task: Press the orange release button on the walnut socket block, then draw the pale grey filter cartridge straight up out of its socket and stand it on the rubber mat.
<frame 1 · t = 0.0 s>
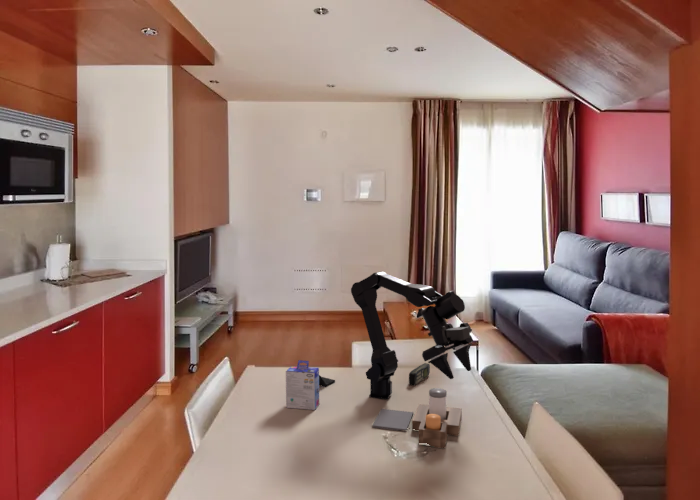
hand: (461, 374, 146), 15 cm above the table, tool tilted 35°, fingers open, 9 cm apart
mobile phone: (420, 380, 184), on the table
ink cartridge box: (303, 406, 161), on the table
filter cartridge: (437, 424, 148), resting in socket block
mat: (393, 420, 150), on the table
socket block: (437, 424, 148), on the table
release button: (433, 423, 137), point 5 cm above the table, slide at 0.0 cm
handheld gaming console: (315, 384, 181), on the table
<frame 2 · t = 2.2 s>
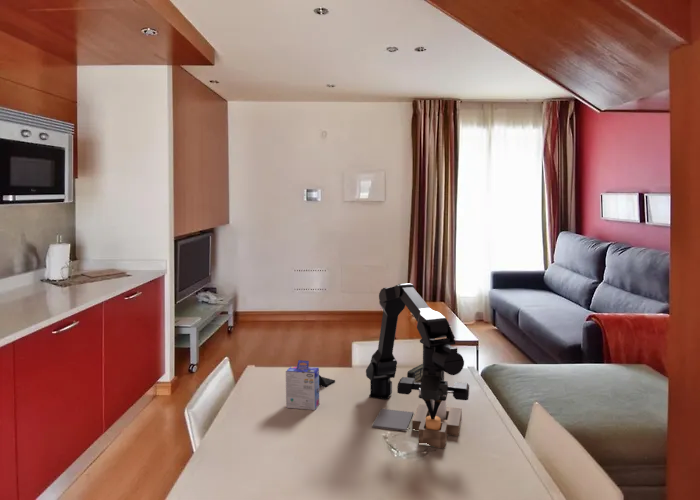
hand: (433, 418, 136), 6 cm above the table, tool pointing down, fingers closed, pressing on release button
release button: (433, 425, 137), point 4 cm above the table, slide at 0.5 cm, touching gripper
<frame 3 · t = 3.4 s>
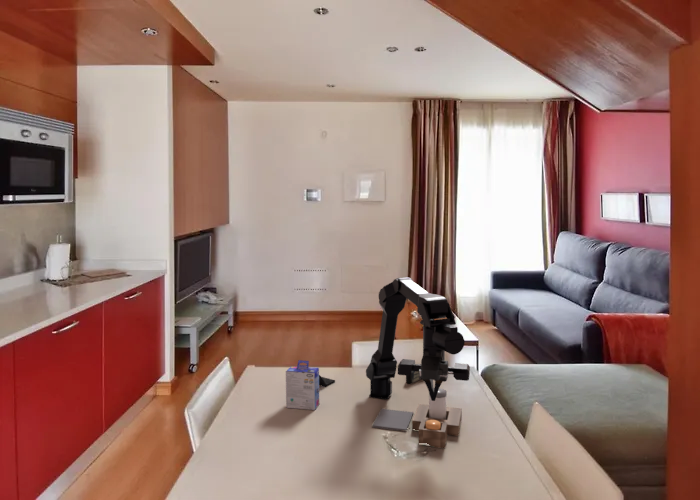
hand: (433, 400, 136), 12 cm above the table, tool pointing down, fingers closed
release button: (433, 430, 137), point 3 cm above the table, slide at 1.7 cm
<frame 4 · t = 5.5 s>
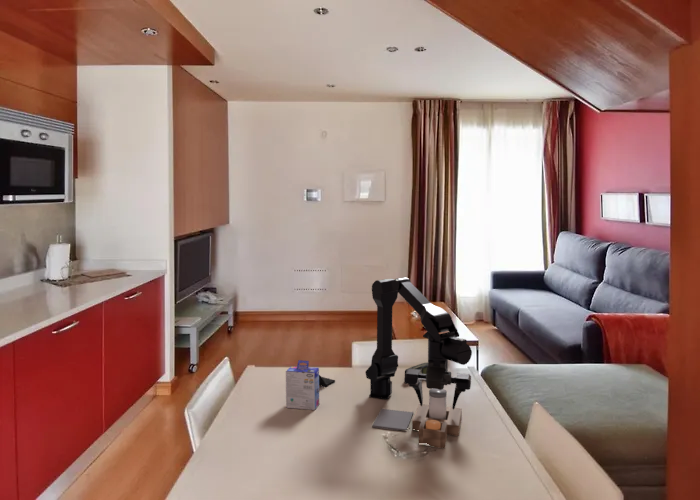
hand: (437, 407, 147), 5 cm above the table, tool pointing down, fingers open, 9 cm apart
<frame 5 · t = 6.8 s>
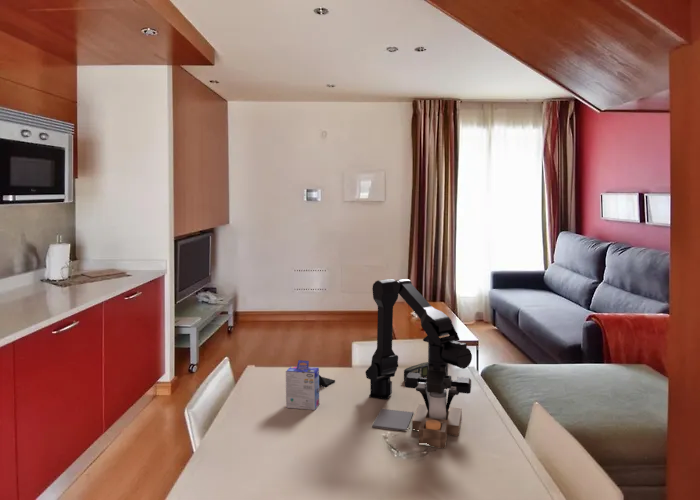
hand: (437, 410, 147), 4 cm above the table, tool pointing down, fingers closed on filter cartridge, 5 cm apart
filter cartridge: (437, 424, 148), resting in socket block, touching gripper
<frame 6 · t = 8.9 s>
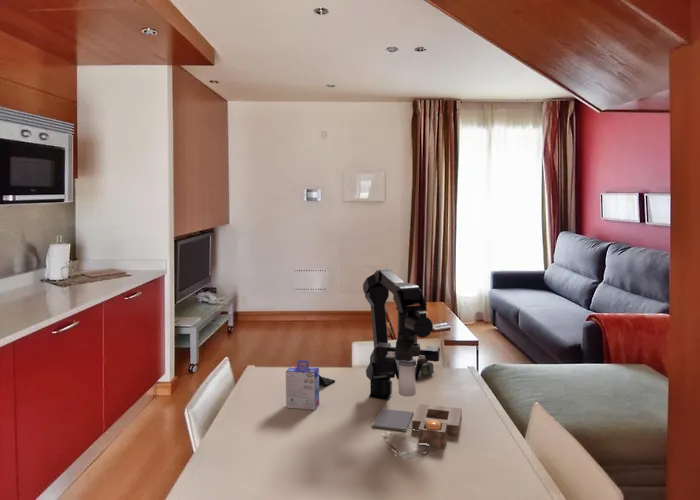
hand: (407, 379, 148), 13 cm above the table, tool pointing down, fingers closed on filter cartridge, 5 cm apart
filter cartridge: (407, 393, 149), point 9 cm above the table, touching gripper
when the fingers open (6 cm above the table, at t = 11.3 s): filter cartridge drops 1 cm, resting on mat.
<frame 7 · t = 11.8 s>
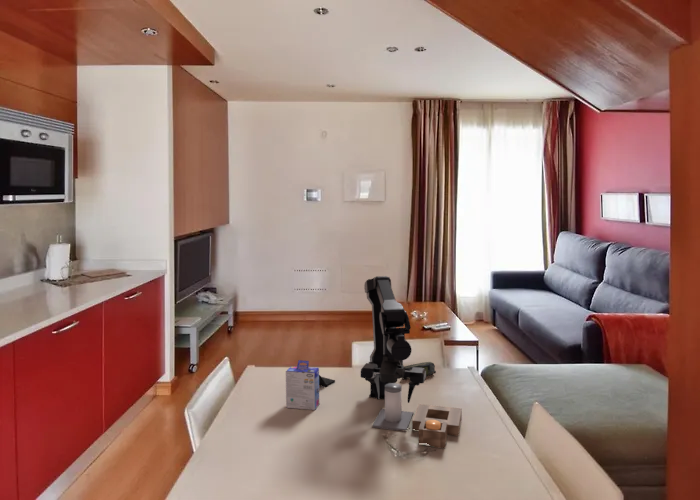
hand: (393, 400, 150), 6 cm above the table, tool pointing down, fingers open, 9 cm apart
filter cartridge: (393, 418, 150), point 1 cm above the table, touching mat
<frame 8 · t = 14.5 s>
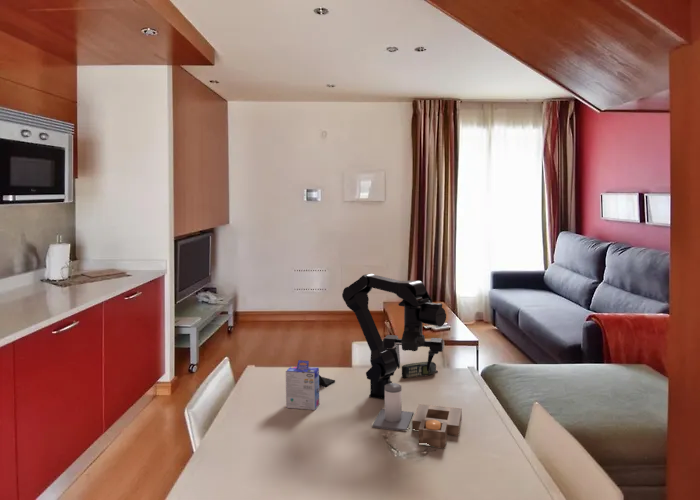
hand: (413, 369, 159), 12 cm above the table, tool pointing down, fingers open, 9 cm apart
at the end: release button slide at 1.7 cm; filter cartridge 0.0 cm off-centre on the mat, point 0.6 cm above the mat's base; filter cartridge tilted 0° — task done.
